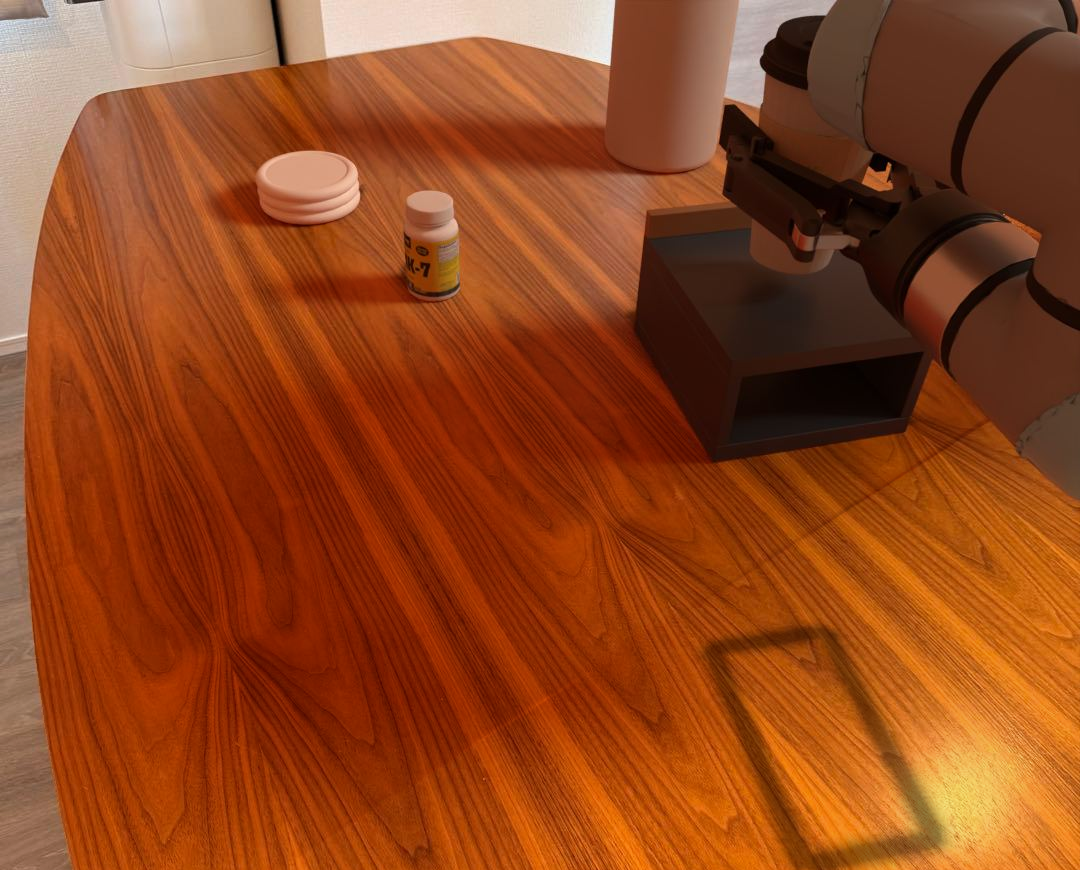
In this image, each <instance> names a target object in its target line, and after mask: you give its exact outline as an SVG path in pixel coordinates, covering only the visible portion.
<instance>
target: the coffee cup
mask: <svg viewBox="0 0 1080 870" xmlns="http://www.w3.org/2000/svg"><path fill="white" fill-rule="evenodd" d="M826 15H827V14H825V15H824V14H821V15H820V14H818V15H803V16H797V17H793V18H790V19H788V20H785V21H784V22H782V23H780V24H779V27H778V28H777V30H776V34H775V37H774V38H772V39H770V40H768V41H767V42H766V43H765V45H764V47H763V49H762V51H763V53H762V55H761V56H760V58H759V66H760V68H761V69H762V71H764V73H765V75H764V83H763V84H764V86H763V94H762V95H763V96H762V103H760V107H759V114H758V123H757V124H758V125H757V126H758V127H759V128H760V129H761V130H762V131H763V132H764V133H765V134H766V135H767V136H768V137H769V138H770V139H771V140H772V141H773V142H774V147H773V152H774V153H776V154H778V155H781V156H783V157H785V158H787V159H789V160H792V161H794V162H796V163H798V164H800V165H803V166H805V167H807V168H809V169H811V170H814V171H816V172H818V173H820V174H822V175H825V176H827V177H829V178H831V179H833V180H836V181H838V182H841V181H844V180H846V179H853V180H855V181H857V182H860V183H862V184H863V181H864V179H865V178H866V177H865V176H866V174H867V171H868V168H869V163H870V161H871V158H872V156H873V153H872V152H869V151H867V150H865V149H864V148H863V147H862V146H861V145H860V144H858V143H857V142H855V141H853V140H852V139H850V138H849V137H847V136H845V135H844V134H842V133H841V132H839V131H837V130H836V129H835V128H833V127H832V126H830V125H829V124H827V123H826V122H824V121H823V120H822V119H821V118H820V117H819V116H818V115H817V113H816V112H815V110H814V108H813V106H812V104H811V101H810V95H809V92H808V80H807V69H808V61H809V57H810V52H811V48H812V45H813V42H814V39H815V37H816V34H817V32H818V30H819V27H820V25H821V23H822V21H823V20H824V18H825V16H826ZM852 200H853V199H850V203H851V201H852ZM850 203H849V205H850ZM833 252H834V249H826V250H816V252H815V256H814V260H813V261H812V262H809V263H802V262H798V261H796V260H795V259H794V258H793V256H792V254H791V253H790V251H789V249H788V247H787V245H786V244H785V243H784V242H782V241H781V240H780V239H779V238H777V237H776V236H775V235H773V234H772V233H771V232H770V231H768V230H767V229H766V228H764V227H763V226H762V225H760V224H759V223H758V222H757V221H755V220H754V219H753V218H752V229H751V240H750V253H751V256H752V257H753V258H754V260H756V261H757V262H758V263H760V264H761V265H763V266H765V267H767V268H770V269H772V270H775V271H778V272H782V273H787V274H794V275H804V274H811V273H815V272H817V271H820V270H822V269H823V268H825V267H826V266H827V265H828V263H829V261H830V259H831V257H832V254H833Z"/></svg>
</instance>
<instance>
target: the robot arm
mask: <svg viewBox="0 0 1080 870" xmlns="http://www.w3.org/2000/svg"><path fill="white" fill-rule="evenodd" d="M825 15H826V16H825V18H824V20H823V21H822V23H821V25H820V27H819V30H818V32H817V34H816V37H815V39H814V42H813V45H812V48H811V52H810V57H809V61H808V69H807V80H808V92H809V95H810V101H811V104H812V106H813V108H814V110H815V112H816V113H817V115H818V116H819V117H820V118H821V119H822V120H823V121H824V122H826V123H827V124H829V125H830V126H832V127H833V128H835V129H836V130H837V131H839V132H841V133H842V134H844V135H845V136H847V137H849V138H850V139H852V140H853V141H855V142H857V143H858V144H860V145H861V146H862V147H863V148H864V149H865V150H867V151H869V152H872V153H873V156H872V158H871V161H870V163H869V166H868V168H870V169H871V170H873V172H875V173H883V172H887V168H888V164H890V168H889V172H888V176H887V180H886V184H887V183H889V182H890V184H891V186H892V188H891V189H883V190H877V189H876V188H873V187H870V186H869V185H866V184H864V183H863V182H862V183H860V182H857V181H855V180H853V179H846V180H844V181H841V182H838V181H836V180H833V179H831V178H829V177H827V176H825V175H822V174H820V173H818V172H816V171H814V170H811V169H809V168H807V167H805V166H803V165H800V164H798V163H796V162H794V161H792V160H789V159H787V158H785V157H783V156H781V155H778V154H776V153H774V152H773V147H774V142H773V141H772V140H771V139H770V138H769V137H768V136H767V135H766V134H765V133H764V132H763V131H762V130H761V129H760V128H759V127H758V125H757V124H756V123H755V122H754V121H753V120H752V119H751V118H750V117H749V116H747V115H746V113H744V111H743V110H741V108H739V106H738V105H736V103H731V104H724V105H723V106H724V107H723V111H722V113H723V114H722V118H721V124H720V130H719V137H718V145H719V146H720V147H721V148H722V149H723V150H724V152H726V153H725V160H726V161H727V162H726V167H725V174H724V180H723V186H722V191H721V195H722V196H723V197H724V198H726V199H727V200H728V202H732V203H733V204H735V205H736V206H737V207H739V208H740V209H741V210H742V211H744V212H745V213H746V214H748V215H749V216H750V217H751V218H753V219H754V220H755V221H757V222H758V223H759V224H760V225H762V226H763V227H764V228H766V229H767V230H768V231H770V232H771V233H772V234H773V235H775V236H776V237H777V238H779V239H780V240H781V241H782V242H784V243H785V244H786V245H787V247H788V249H789V251H790V253H791V254H792V256H793V258H794V259H795V260H796V261H798V262H802V263H809V262H812V261H813V260H814V256H815V252H816V250H826V249H839V251H840V252H841V254H842V255H844V256H845V257H847V258H849V259H851V260H853V261H855V262H857V263H859V264H860V265H861V266H862V267H863V270H864V273H865V276H866V279H867V282H868V285H869V288H870V290H871V292H872V294H873V296H874V297H875V299H876V300H877V301H878V302H879V303H880V304H881V305H882V306H883V307H884V308H885V309H886V310H887V311H888V313H889V314H890V315H891V316H892V317H893V318H894V319H895V320H896V321H897V322H898V323H899V324H900V325H901V326H902V327H903V328H904V329H906V330H908V331H909V333H910V334H911V335H912V337H913V338H914V339H915V340H916V341H917V342H918V343H919V344H920V345H921V346H922V347H923V348H924V349H925V350H926V351H927V353H928V354H929V355H930V356H931V357H932V358H933V359H932V360H934V361H935V362H936V363H937V364H938V366H940V367H941V368H942V369H943V371H944V372H945V373H947V375H948V376H949V377H950V378H951V379H952V380H953V382H954V383H956V385H958V387H959V388H960V389H961V390H962V391H963V392H964V393H965V394H966V395H967V396H968V397H969V399H970V400H971V401H972V402H973V403H974V404H975V405H976V406H977V408H979V410H980V411H981V412H982V413H983V414H984V415H985V417H987V419H988V420H989V421H990V422H991V423H992V424H993V425H994V426H995V427H996V429H997V430H998V431H1000V434H1002V435H1003V436H1004V437H1005V438H1006V440H1007V441H1008V442H1009V443H1010V444H1011V446H1013V448H1015V449H1014V450H1015V452H1016V453H1017V455H1018V456H1019V457H1020V458H1021V459H1022V460H1024V461H1027V462H1028V463H1029V464H1030V465H1031V466H1033V468H1035V469H1036V470H1037V471H1038V472H1039V473H1040V474H1041V475H1042V476H1044V477H1045V479H1047V480H1048V481H1049V482H1050V483H1051V484H1052V485H1053V486H1055V487H1056V488H1057V489H1058V490H1060V491H1061V492H1062V493H1064V494H1065V495H1066V496H1068V497H1069V498H1071V499H1072V500H1074V501H1077V502H1080V0H836V1H835V2H834V3H833V5H832V6H831V7H830V8H829V10H828V11H827V13H826V14H825ZM850 199H853V200H852V201H851V203H850ZM849 203H850V205H849ZM1006 217H1008V218H1010V219H1012V220H1014V221H1016V222H1018V223H1020V224H1021V225H1024V226H1026V227H1028V228H1030V229H1032V230H1034V231H1036V232H1037V233H1039V234H1040V235H1041V236H1040V240H1039V242H1038V241H1037V240H1036V239H1035V238H1033V237H1032V236H1031V235H1030V234H1029V233H1027V232H1026V231H1025V230H1023V229H1021V228H1020V227H1018V226H1016V225H1015V224H1013V223H1012V222H1011V221H1010V219H1008V218H1006Z"/></svg>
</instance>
